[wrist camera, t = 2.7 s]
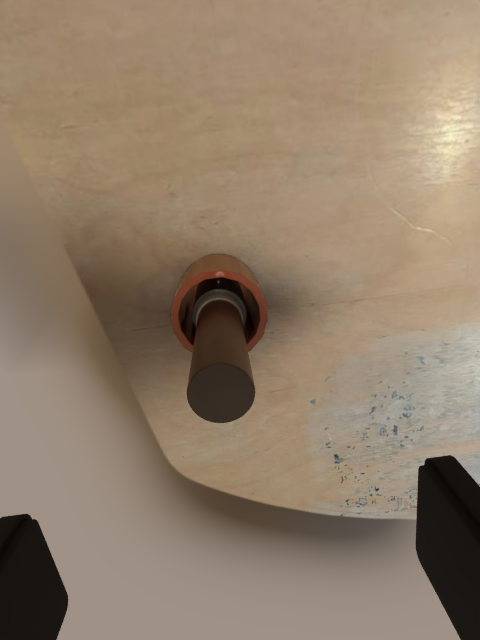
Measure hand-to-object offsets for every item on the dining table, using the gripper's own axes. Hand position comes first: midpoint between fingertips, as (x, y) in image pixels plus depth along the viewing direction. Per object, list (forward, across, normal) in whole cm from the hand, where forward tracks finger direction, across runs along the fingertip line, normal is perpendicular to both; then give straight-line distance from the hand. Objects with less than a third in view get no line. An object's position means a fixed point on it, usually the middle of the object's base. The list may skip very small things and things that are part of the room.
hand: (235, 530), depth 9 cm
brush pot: (+22, 0, 0) cm, 22 cm away
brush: (+22, 0, 0) cm, 22 cm away
